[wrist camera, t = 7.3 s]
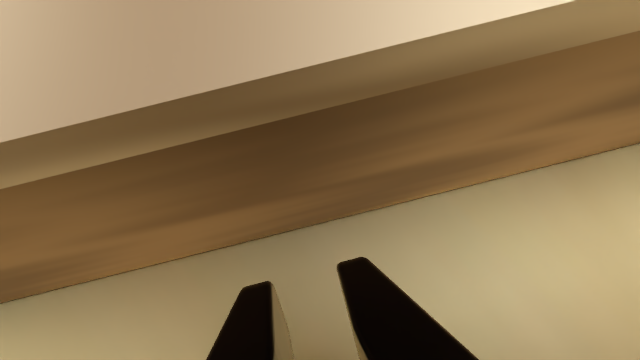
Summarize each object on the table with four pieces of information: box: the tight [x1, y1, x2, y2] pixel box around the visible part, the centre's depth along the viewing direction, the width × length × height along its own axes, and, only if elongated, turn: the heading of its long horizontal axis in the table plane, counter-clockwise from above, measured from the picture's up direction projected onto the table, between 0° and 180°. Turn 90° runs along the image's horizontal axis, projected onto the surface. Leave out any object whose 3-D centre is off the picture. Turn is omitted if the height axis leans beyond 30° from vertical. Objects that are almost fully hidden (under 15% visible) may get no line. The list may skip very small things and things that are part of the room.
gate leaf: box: [0, 0, 640, 303], centre depth 9 cm, size 19×2×10 cm, turn 104°
